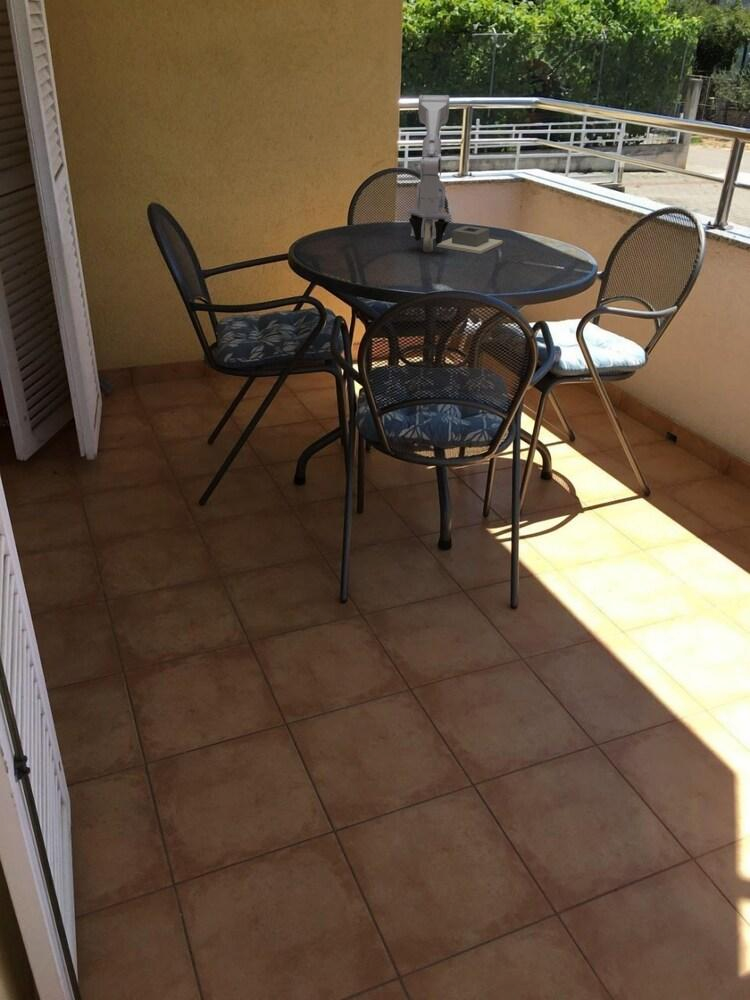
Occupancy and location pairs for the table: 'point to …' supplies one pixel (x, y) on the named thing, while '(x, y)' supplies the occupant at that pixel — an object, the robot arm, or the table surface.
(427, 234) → the steel pin
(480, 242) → the socket block on plate
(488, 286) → the table surface
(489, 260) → the table surface
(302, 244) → the table surface
